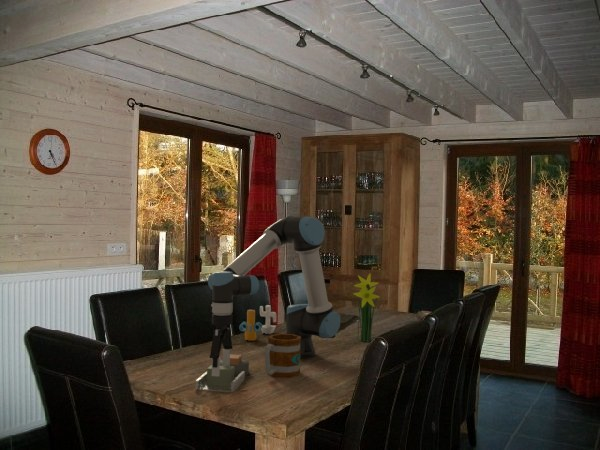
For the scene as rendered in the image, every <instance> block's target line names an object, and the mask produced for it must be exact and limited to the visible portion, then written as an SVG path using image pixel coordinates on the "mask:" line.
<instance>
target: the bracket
mask: <svg viewBox="0 0 600 450" xmlns="http://www.w3.org/2000/svg"><path fill="white" fill-rule="evenodd" d="M245 377H246V376H245V371H242V372H241V373H240V374H239V375H238V376H237V377H236V378H234V380H233V381H232V382H231V386H218V385H207V370H206V371H205V372H204V373H203V374H202V375H200V376H199V377H198V378H197V379H195V384H194V386H195V391H207V392H209V391H210V392H223V393H225V392H227V393H229V392H231V393H234V392H235V391H236V390H237V389H238V388H239V387H240V386H241V385H242V383H243V382H244V381H245Z"/></svg>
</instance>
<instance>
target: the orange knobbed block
mask: <svg viewBox="0 0 600 450" xmlns="http://www.w3.org/2000/svg"><path fill="white" fill-rule="evenodd" d="M262 325H263V324H262V323H261V322H260V321H258V322H256V310H255V309H247V311H246V321H243V322H242V323H240V325H239V331H240V332H244V340H245V341H247V340H248V341H249V342H250V341H251V342H254V341H257V333H259V332H260V331H261V328H262ZM244 326H245V327H244ZM256 326H258V328H256ZM260 326H261V327H260Z"/></svg>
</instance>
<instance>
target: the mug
mask: <svg viewBox="0 0 600 450" xmlns="http://www.w3.org/2000/svg"><path fill="white" fill-rule="evenodd" d="M267 340H268V344H267V345H266V346H265V348H264V349H265V350H264V369H265V370H264V371H265V373H266V374H267V375H268V376H270V377H273V378H282V379H289V378H295V377H298V376H299V375H300V374H301V359H300V357H301V353H300V341H301V336H297V335H294V334H286V333H277V334H269V336H268V337H267Z"/></svg>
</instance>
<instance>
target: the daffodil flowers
mask: <svg viewBox="0 0 600 450" xmlns="http://www.w3.org/2000/svg"><path fill="white" fill-rule="evenodd" d="M371 277H372V275H371V272H369V273H368V275H367V278H366V279H365V278H363V277H362V276H360V275H359V274H358V275H357V278H358V279H359V281H360V283H357V284H354V285H353V287H355V288H360V290H359V292H354V293H352V295H353V297H354V298H355V300H356V303H357V307H358V308H357V309H358V321H359V322H358V325H357V335H359V333H360V342H364V343H367V344H368V343H369V342H371V341H372V329H373V319H374V313H375V307H376V303H377V301H378V299H379V298H381V294H379V295H377V294H376V292H377V291H378V290H379V288H377V286H376V285H378V284H379V282H376V281H371V279H372V278H371ZM376 288H377V289H376ZM357 297H359V298H361V300H360V299H359V298H357ZM373 299H375V300H374V301H373ZM359 330H360V331H359ZM356 339H357V340H359V337H357V338H356Z"/></svg>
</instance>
